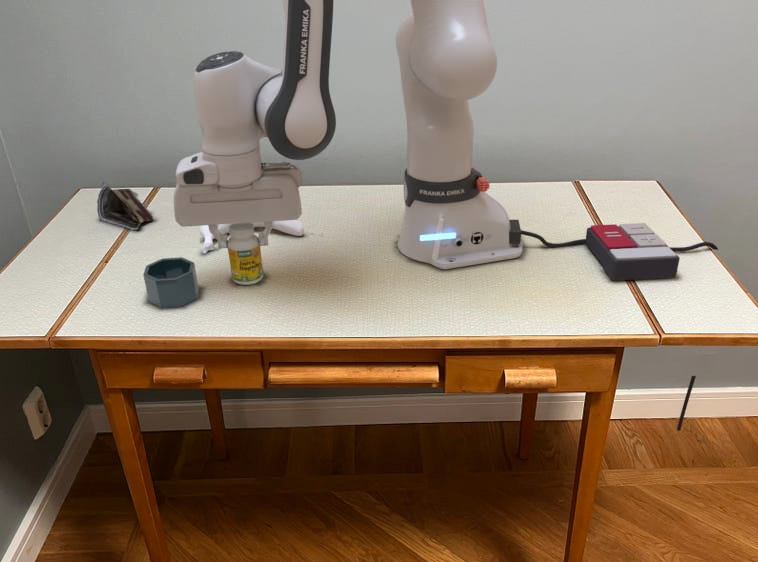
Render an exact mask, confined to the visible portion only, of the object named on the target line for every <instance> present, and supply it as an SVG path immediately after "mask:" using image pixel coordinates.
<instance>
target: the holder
mask: <svg viewBox="0 0 758 562" xmlns="http://www.w3.org/2000/svg"><path fill="white" fill-rule="evenodd" d="M196 269H197V268H196V264H195V262H194V261H192V260H189V259H187V258H185V257H182V256H180V257H179V256H178V257H166V258H165V257H164V258H161V259H158V260H156V261H153V262H151V263H149V264H147V265H146V266H145V269H144V271H143V280H144V284H145V290H146V293H147V299H148V302H149V303H150V304H152V305H154V306H156V307H159V308H160V309H166V308H167V309H169V308H181V307H184V306H185V305H188V304H190V303H193V301H196V300H198V296H199V291H200V287H199V281H198V275H197V270H196Z"/></svg>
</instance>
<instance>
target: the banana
mask: <svg viewBox="0 0 758 562" xmlns="http://www.w3.org/2000/svg"><path fill="white" fill-rule="evenodd" d="M252 224H253V226H254V228H265V227H264V222H253V223H252ZM230 225H232V224H219V225H218V230H219V231H220V233H221V234H222V235H227V234H229V226H230ZM272 230H276V231H279V232H282V233H284V234H289V235H290V236H291V235H292V236H295V237H299V236H300V237H301V236H303V235H304V226H303V224H302V223H301V221H300V220H299V218H298V219H297V220H287V221H273V228H272ZM199 235H200V236H201V237H202V238H203V239H204V242H203V243H202V248H201V251H202V253H203V254H206V253H207V252H209V251H215V248H214V242H213V240H214V239H215V240H216V238H215V237H214V236H213V235H212V234H211V232H210V231H209V227H208V225H202V226H199Z"/></svg>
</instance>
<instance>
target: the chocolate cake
mask: <svg viewBox="0 0 758 562" xmlns="http://www.w3.org/2000/svg"><path fill="white" fill-rule="evenodd" d="M138 197H139V193H138V192H136V191H135V192H134V191H133V190H132V189H131V188H116V189H112V188H111V187H110V186H109V185H108V184H107V183H106V182H104V181H102V184H101V190H100V191H99V193H98V198H97V201H96V204H97V207H96V208H97V209H96V211H97V216H98V218H99V220H101V221H103V222H104V223H106V222H107V223H108V224H113V225H115V226H119V227H122V228H125V229H128V230H131V231H137V230H138V229H139V227H140V226H141V224H142V223H146V222H151V221H154V216H153V214H152V213H151V211H150V210H149V209H148V207H149V205H148V204H147V203H145V202H141V200H140V199H139V198H138Z"/></svg>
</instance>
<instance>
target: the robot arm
mask: <svg viewBox="0 0 758 562" xmlns="http://www.w3.org/2000/svg"><path fill="white" fill-rule="evenodd" d="M409 1H410V5H411V12H410V13H409V14H407V15H406V16H405V17H404V18H403V19H402V21H401V22H400V23H399V26H398V27H397V30H396V35H395V49H396V52H397V56H398V61H399V62H398V63H399V71H400V72H399V73H400V82H401V91H402V97H403V105H404V110H405V118H406V169H405V170H404V175H403V176H404V178H403V201H404V204H405V206H404V212H403V213H404V215H403V220H402V224H401V231H400V234H399V237H398V240H397V245H396V246H397V249H398V250H399V252H400V253H401V254H402V255H404V256H406V257H407V258H409V259H412V260H414V261H418V262H422V263H426V264H430V265H432V266H434V267H436V268H438V269H441V270H451V269H457V268H462V267H463V268H464V267H468V266H469V267H470V266H475V265H480V264H487V263H492V262H493V263H494V262H499V261H505V260H511V259H516V258H520V257H521V255H522V253H523V240H522V235H523V236H528V237H530V238H534V239H537V240H539V241H540V242H541V243H542V244H543V246H545V247H548V248H552V249H553V248H555V249H556V248H565V247H571V246H574V245H579V244H580V245H582V244H586V238H581V239H575V240H571V241H567V242H561V243H552V242H550V241H549V242H548V241H547V240H546V239H545V238H544V237H543V236H541V234H537V233H535V232H532V231H526V230H522V228H521V225H520V221H519V219H510V217H509V214H508V212H507V210H506V208H505V207H504V206H503V205H502V204H501V203H500V201H498V200H496V199H495V198H494V197H492V196H491V195H490V194H488V193H486V192H488V190H489V189H490V186H491V185H490V182H489V180H488V179H487V178H486V177H484V176H483V175H482V173H481V172H480V171H478V170H477V169H476V167H474V166H473V165H472V164H473V149H474V148H473V147H474V132H475V131H474V130H475V128H474V120H473V118H472V114H471V110H470V106H469V101H470V100H473V99H475V98H478V97H479V96H481V95H482V94H483V93H485V92H486V91H487V89H489V87H490V86H491V84H492V82H493V81H494V79H495V76H496V73H497V69H498V68H497V67H498V58H497V53H496V48H495V47H494V44H493V42H492V39H491V36H490V32H489V27H488V21H487V13H486V7H485V2H484V0H409ZM282 4H283V10H284V42H283V46H284V47H283V59H282V60H283V61H282V62H283V63H282V69H281V68H277V67H272V66H269V65H265V64H263V63H261V62H258V61H256V60H254V59H252V58H250V57H249V56H247V55H246V54H245V53H244V52H241V51H237V50H236V51H235V50H230V51H222V52H217V53H213V54H212V55H209V56H207V57H206V58H204V59H202V60H201V61H200V62H199V64H197V66H196V68H195V70H194V77H193V93H194V103H195V112H196V119H197V123H198V125H199V127H200V130H201V134H202V139H201V151H200V152H197V153H194V154H192V155H189V156H187V157H184V158H182V159H180V161H179V163H178V164H177V166H176V170H175V180H176V185H175V188H174V193H173V211H174V213H173V214H174V220H175V222H176V223H177V224H178V225H179V226H180V227H182V228H185V227H200V226H202V225H208V227H209V231H210V232H211V234H212V235H213V236H214V237H215V240H217V246H218V249H228V246H227V242H228V234H224V235H222V234H221V233H220V231H219V230H218V225H219V224H236V223H253V222H264V227H263V228H264V230H263V231H262V232H261V231H260V232H258V236H257V237H258V238H259V246H260V247H266V246H269V235H270V233H271V231H272V230H273V229H272V228H273V221H287V220H297V219H298V220H299V218H301V216H302V214H303V209H302V208H303V207H302V200H301V195H300V194H301V193H300V190H299V188H300V187H301V185H302V180H303V179H302V171H301V169H300V168H299V166H298V165H296V164H293V163H291V162H290V161H282V162H262V153H261V144H260V141H261V140H262V139H264V138H268V141H269V143H270V145H271V146H272V148H273V149H274V150H275V151H276V152H277V153H278V154H279V155H280V156H282V157H284V158H286V159H289V160H293V161H303V160H304V161H305V160H309V159H312V158H314V157H316V156H318V155H320V154H321V153H322V152H323V151H325V150H326V148H327V147H328V146H329V145H330V143H331V142H332V140H333V137H334V135H335V132H336V128H337V118H336V112H335V107H334V105H333V101H332V98H331V92H330V64H331V52H332V51H331V49H332V47H331V46H332V35H333V19H334V0H282ZM668 247H669V246H668ZM703 247H709V248H711V249H712V250H715V251H718V250H719V247H718V246H717V245H716V244H715V243H713V242H710V241H702V242H698V243H695V244H692V245H689V246H681V247H679V246H678V247H677V246H675V247H673V246H671V247H669V248H670V249H671V250H672V251H673V252H674V253H676V252H678V253H679V252H688V251H694V250H697V249H699V248H703ZM696 378H697V375H691V378H690V381H689V384H688V388H687V390H686V394H685V397H684V401H683V404H682V408H681V411H680V415H679V419H678V423H677V426H676V431H678V432H679V431H681V430H682V426H683V421H684V418H685V414H686V410H687V407H688V403H689V400H690V397H691V393H692V391H693V388H694V383H695V380H696Z"/></svg>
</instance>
